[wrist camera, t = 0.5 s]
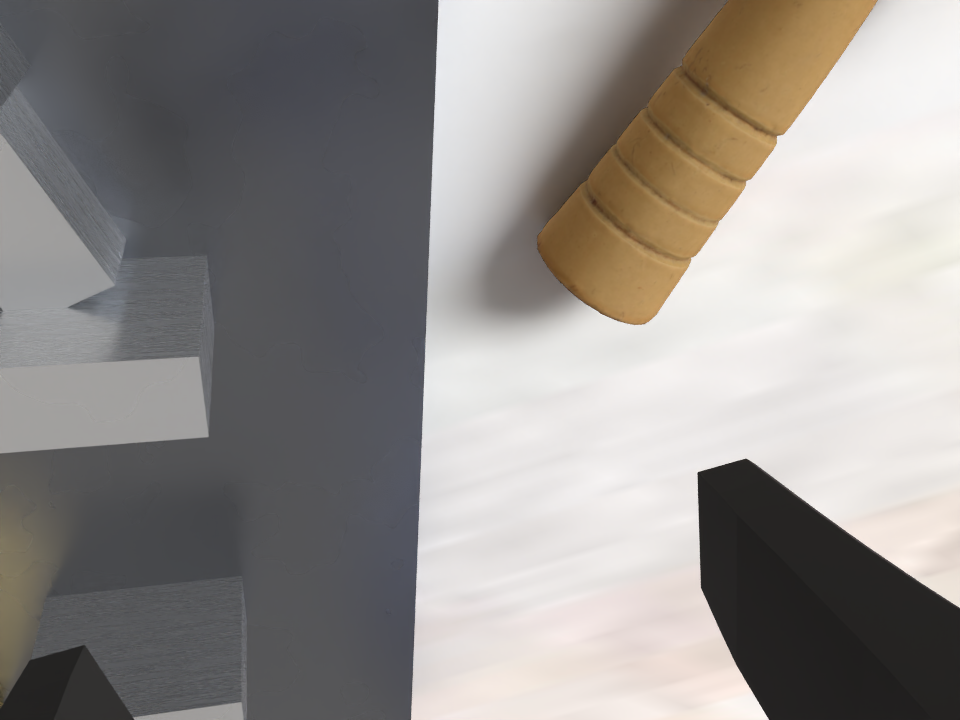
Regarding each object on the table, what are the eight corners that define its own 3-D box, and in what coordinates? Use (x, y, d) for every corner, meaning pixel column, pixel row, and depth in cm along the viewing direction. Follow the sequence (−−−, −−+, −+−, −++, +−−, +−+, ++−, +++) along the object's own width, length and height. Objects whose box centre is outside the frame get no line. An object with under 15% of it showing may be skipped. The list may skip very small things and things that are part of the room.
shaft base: (406, 704, 27) (431, 847, 23) (-239, 799, 23) (-328, 986, 20) (431, -51, 16) (488, 1, 12) (-814, -99, 12) (-1261, -42, 8)
